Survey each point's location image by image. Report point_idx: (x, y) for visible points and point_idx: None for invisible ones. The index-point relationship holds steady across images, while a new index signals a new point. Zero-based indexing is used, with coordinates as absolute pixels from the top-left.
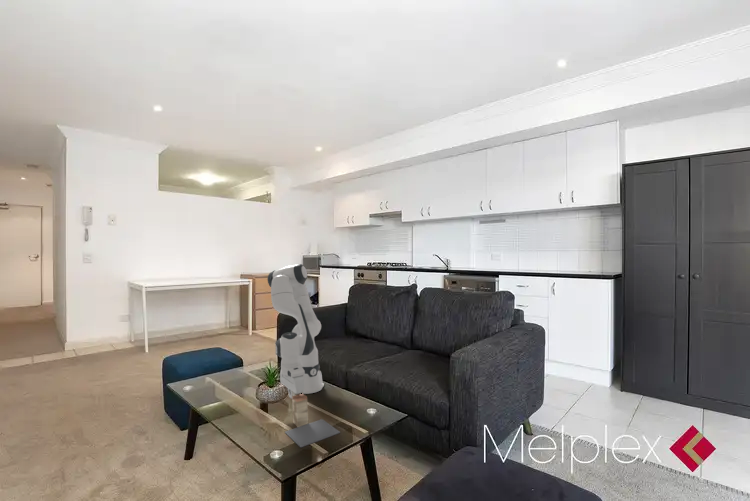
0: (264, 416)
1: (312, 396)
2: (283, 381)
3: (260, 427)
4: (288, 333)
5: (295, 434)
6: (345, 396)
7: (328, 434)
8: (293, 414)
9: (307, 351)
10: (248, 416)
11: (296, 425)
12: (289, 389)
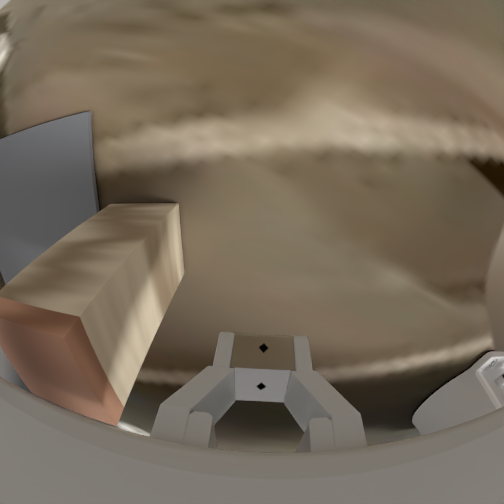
0: (436, 109)
1: (405, 395)
2: (493, 475)
3: (286, 4)
4: None
5: (36, 158)
6: (291, 449)
7: (7, 273)
8: (143, 227)
9: None
10: (487, 57)
11: (127, 204)
12: (307, 432)
